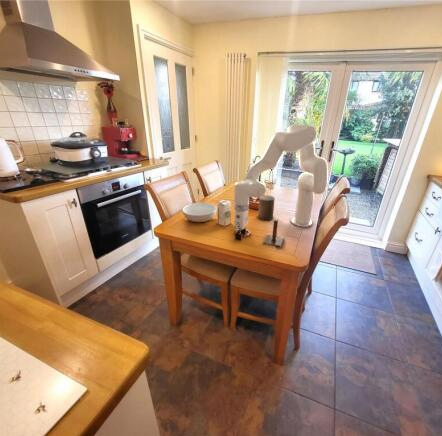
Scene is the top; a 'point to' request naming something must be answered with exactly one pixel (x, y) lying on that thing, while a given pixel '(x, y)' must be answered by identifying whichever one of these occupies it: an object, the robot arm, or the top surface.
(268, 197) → the pillar candle
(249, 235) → the ring
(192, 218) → the serving bowl
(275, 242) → the post
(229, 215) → the syrup box
